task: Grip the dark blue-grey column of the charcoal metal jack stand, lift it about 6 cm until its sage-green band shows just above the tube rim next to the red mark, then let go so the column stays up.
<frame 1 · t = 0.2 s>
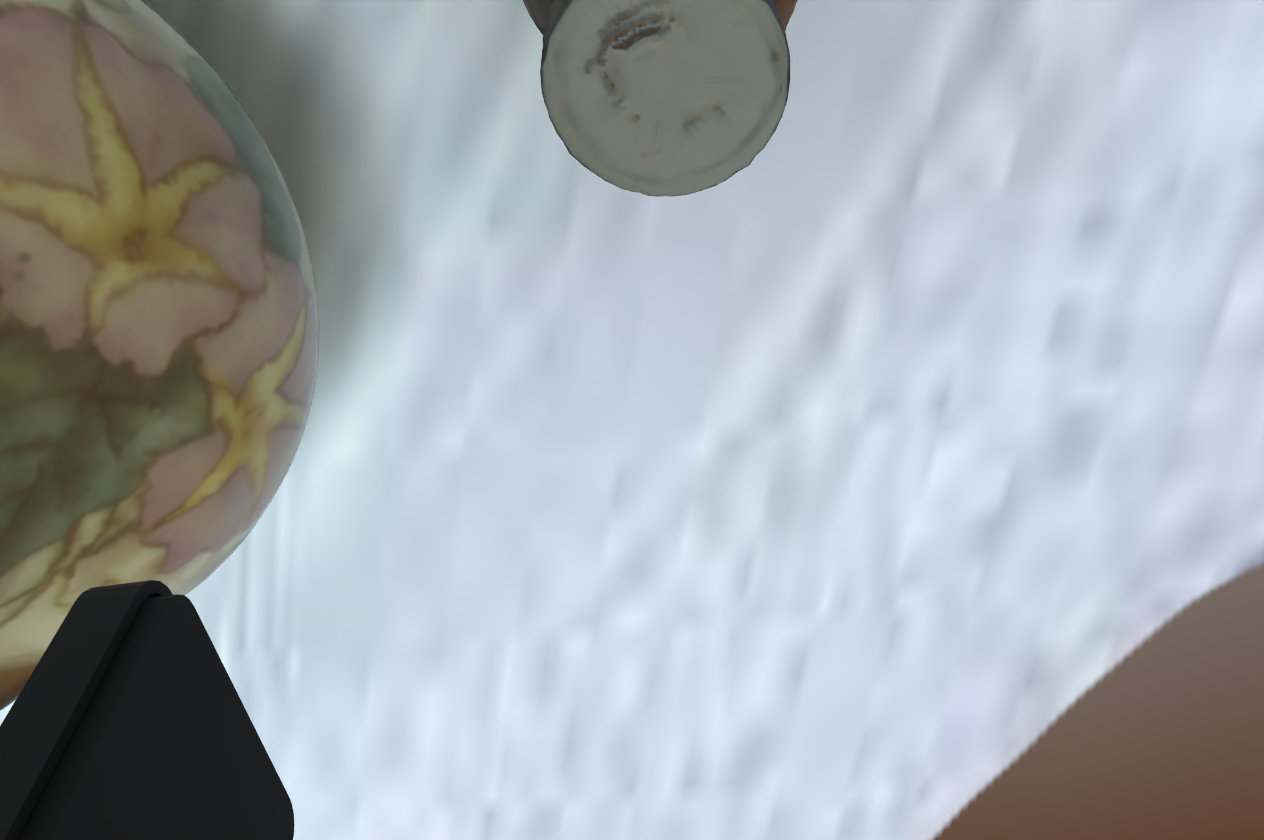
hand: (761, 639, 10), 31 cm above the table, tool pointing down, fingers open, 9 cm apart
pitcher: (67, 193, 41), on the table
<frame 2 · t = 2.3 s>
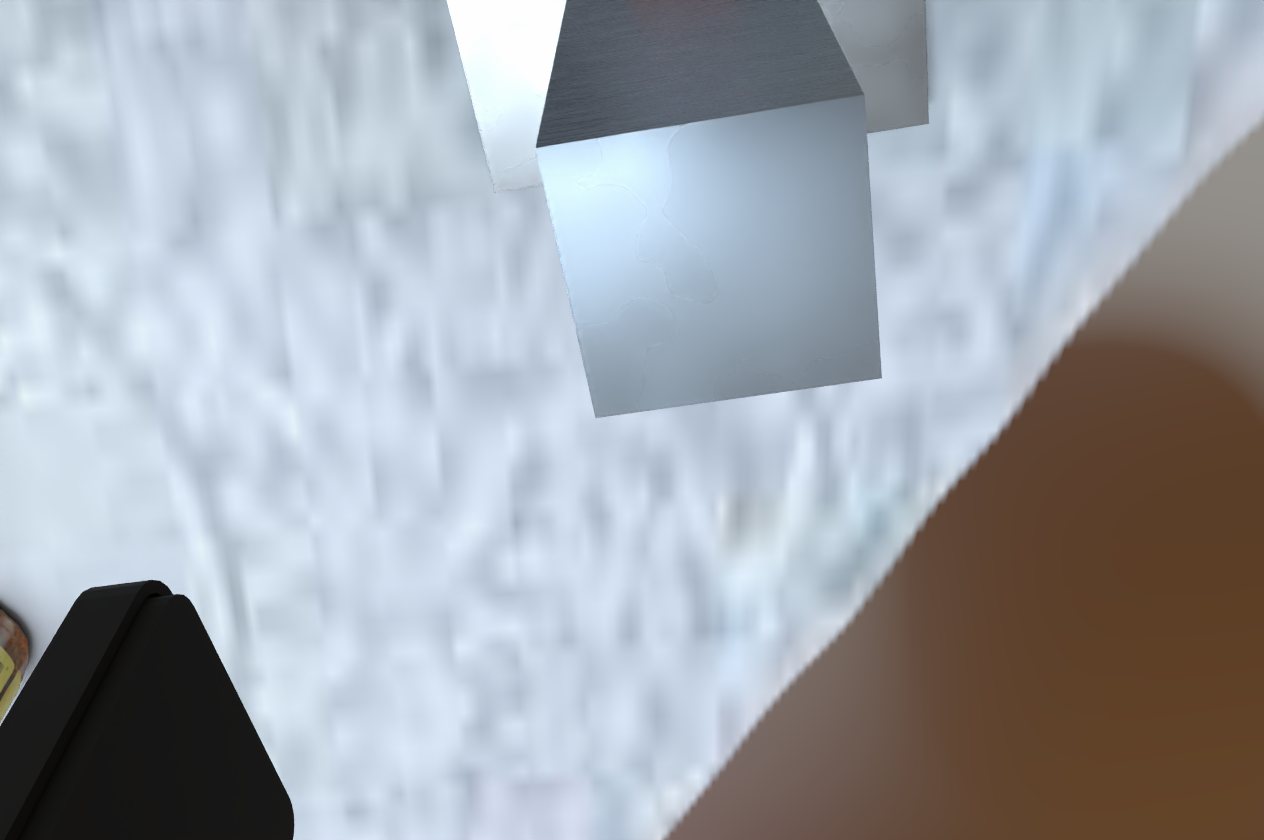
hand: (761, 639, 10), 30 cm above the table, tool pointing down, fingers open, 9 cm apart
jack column: (689, 35, 24), point 13 cm above the table, slide at 0.0 cm
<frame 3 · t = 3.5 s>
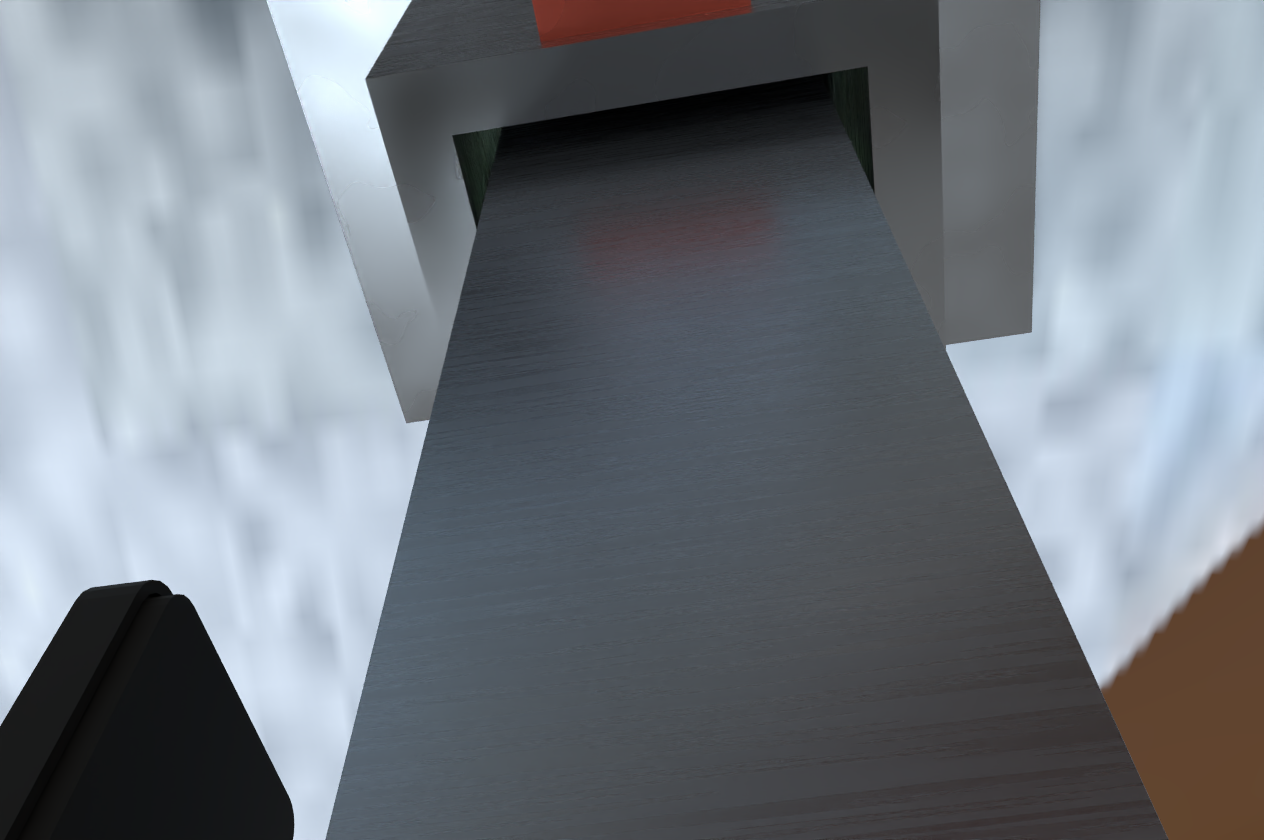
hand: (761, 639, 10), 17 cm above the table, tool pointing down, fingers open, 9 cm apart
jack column: (694, 374, 13), point 13 cm above the table, slide at 0.0 cm
jack base: (662, 45, 23), on the table
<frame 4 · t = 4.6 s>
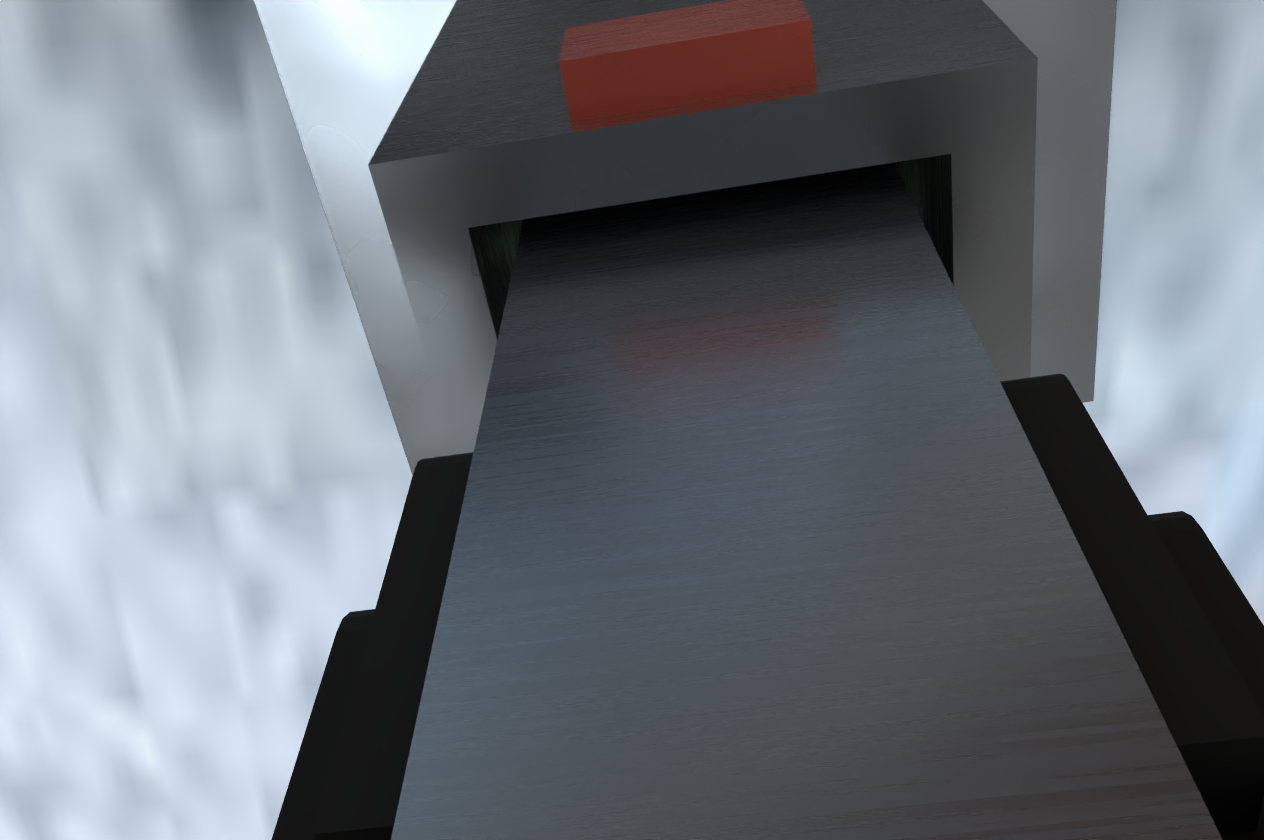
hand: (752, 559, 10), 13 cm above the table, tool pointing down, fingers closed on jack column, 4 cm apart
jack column: (747, 511, 11), point 13 cm above the table, slide at 0.0 cm, touching gripper
jack base: (697, 92, 22), on the table
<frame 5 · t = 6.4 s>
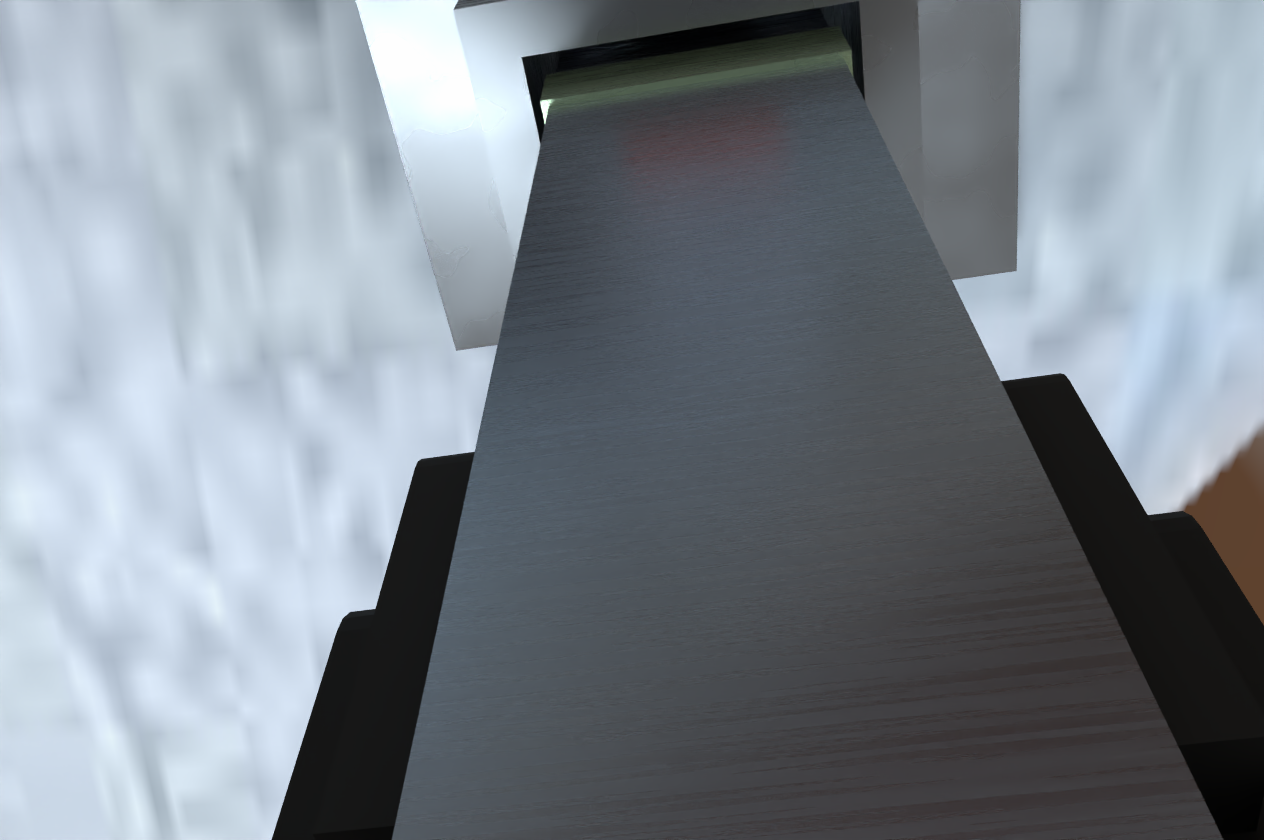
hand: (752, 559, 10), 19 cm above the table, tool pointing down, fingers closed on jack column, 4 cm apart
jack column: (748, 511, 11), point 18 cm above the table, slide at 5.9 cm, touching gripper
jack base: (688, 10, 27), on the table
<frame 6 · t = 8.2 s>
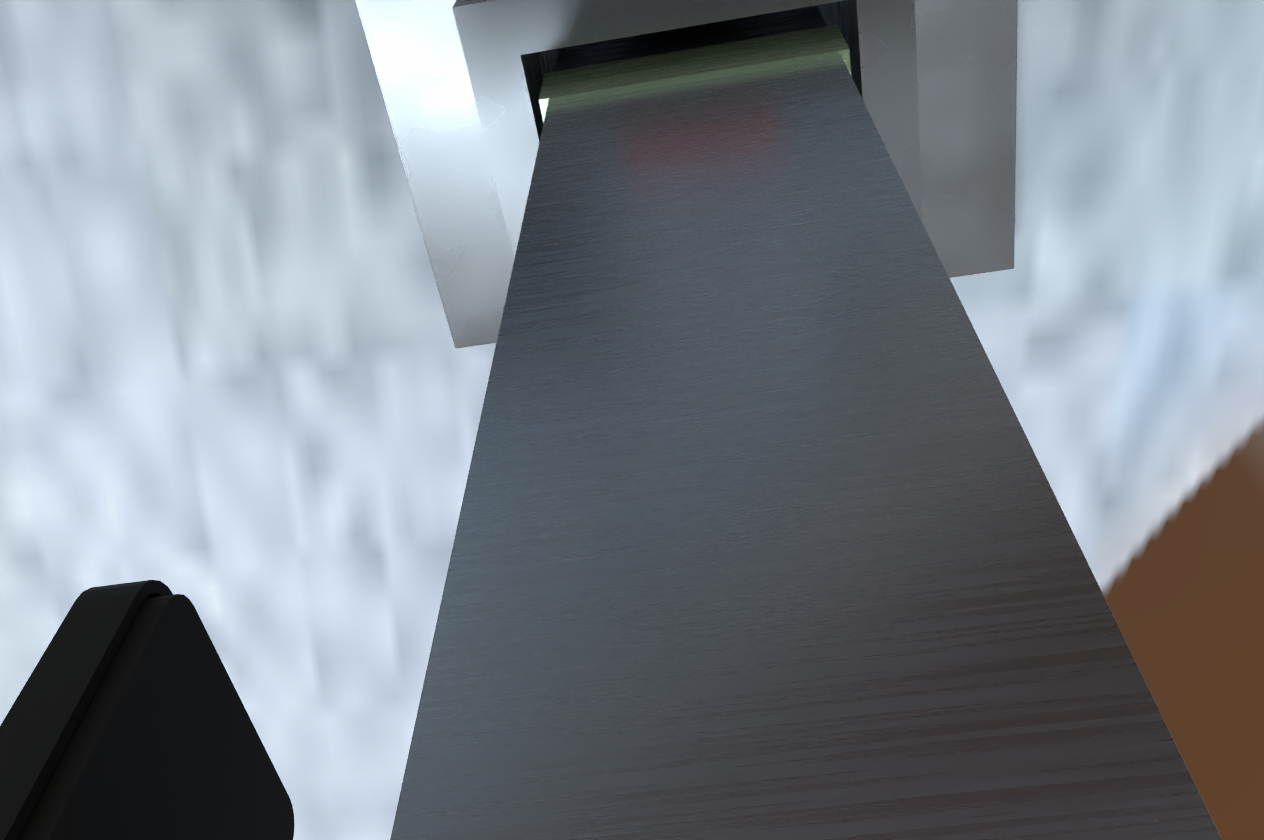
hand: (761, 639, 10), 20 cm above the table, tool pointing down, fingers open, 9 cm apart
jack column: (746, 508, 11), point 19 cm above the table, slide at 5.9 cm
jack base: (687, 9, 27), on the table
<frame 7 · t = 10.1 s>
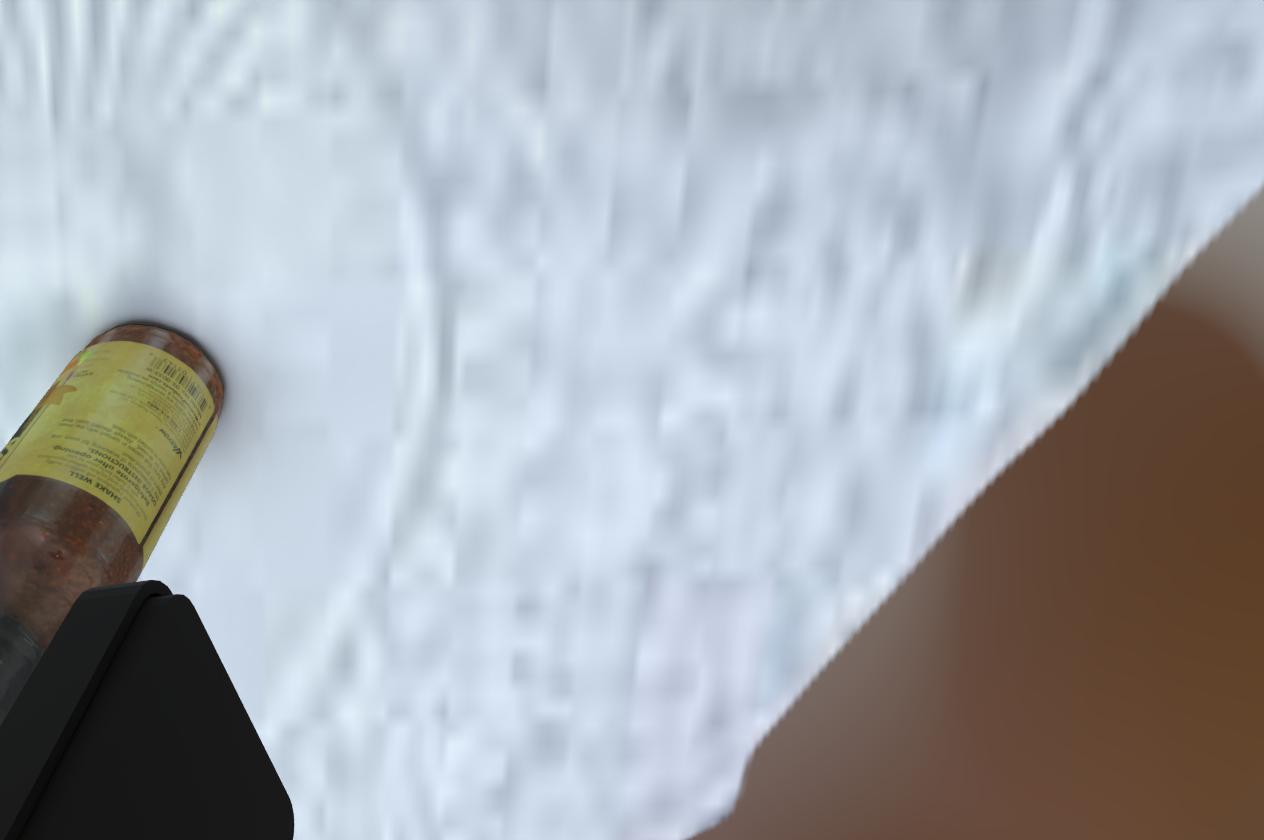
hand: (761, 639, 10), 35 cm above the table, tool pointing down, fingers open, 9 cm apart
sauce bottle: (159, 382, 50), on the table
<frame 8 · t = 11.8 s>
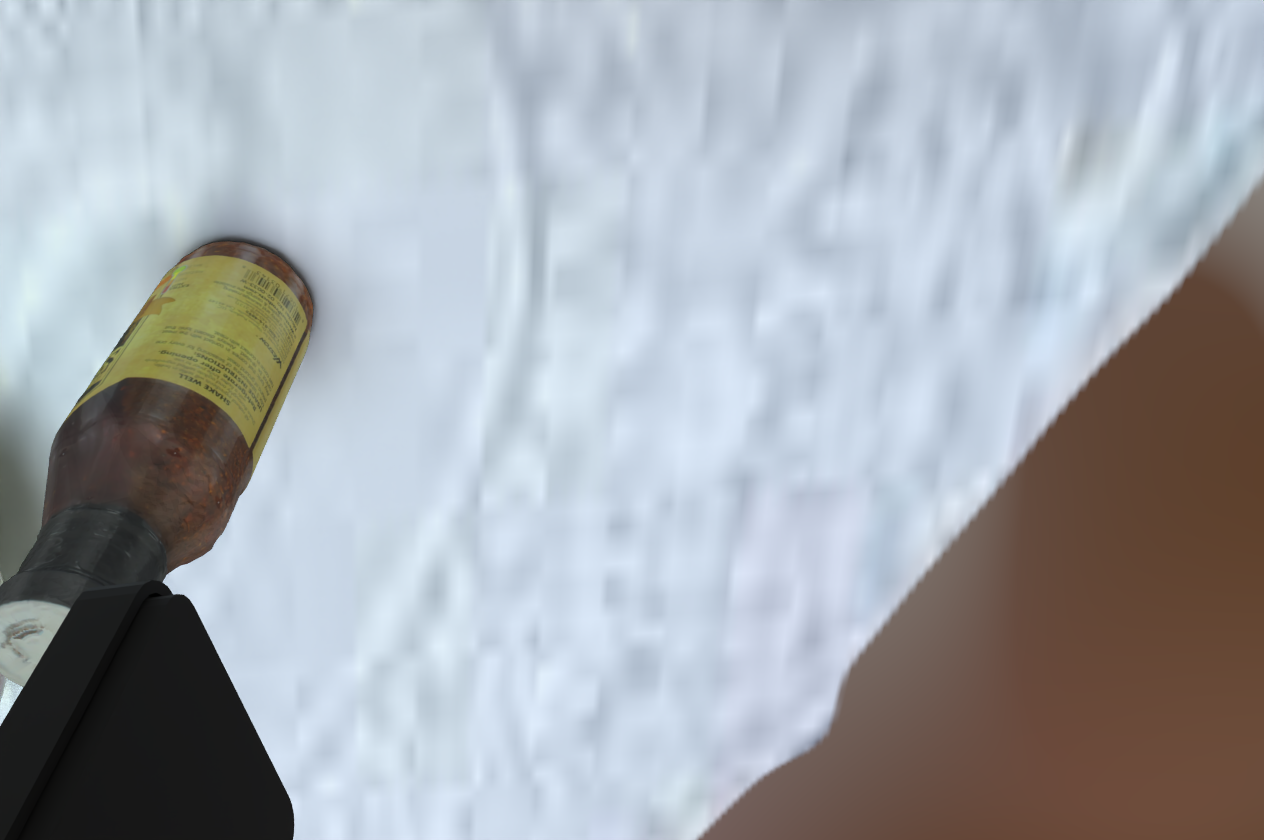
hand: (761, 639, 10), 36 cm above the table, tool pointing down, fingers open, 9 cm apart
sauce bottle: (247, 303, 49), on the table
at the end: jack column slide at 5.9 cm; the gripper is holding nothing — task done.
